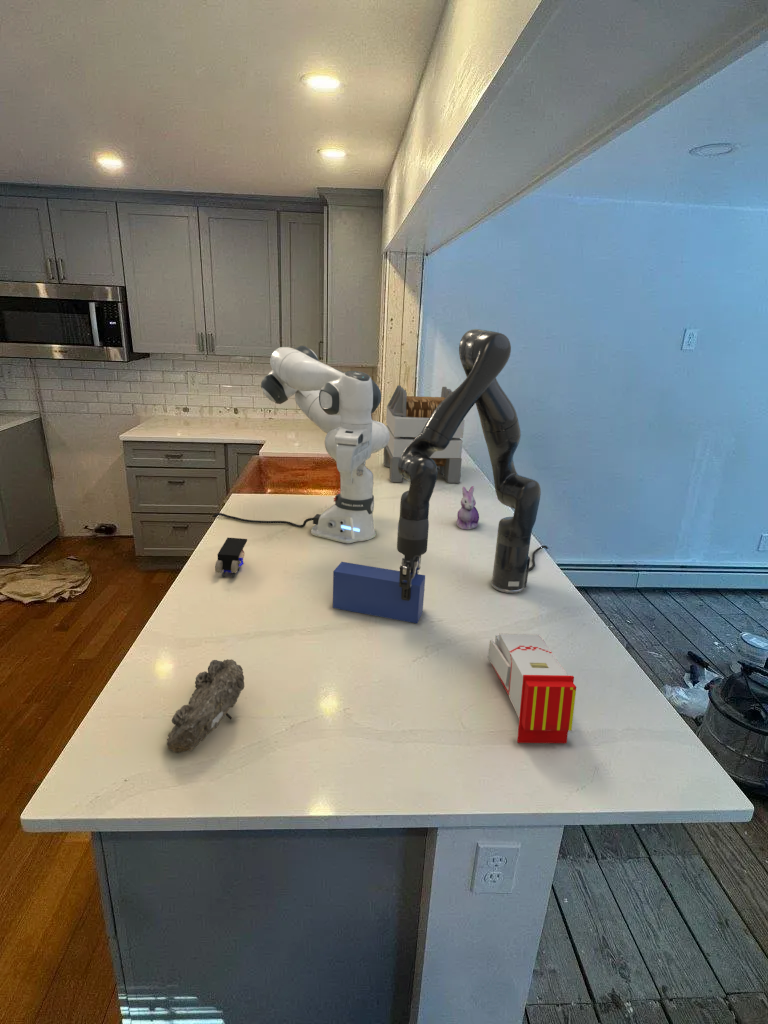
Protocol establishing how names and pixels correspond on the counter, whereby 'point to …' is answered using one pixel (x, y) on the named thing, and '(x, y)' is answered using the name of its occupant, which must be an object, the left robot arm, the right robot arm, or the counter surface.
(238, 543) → the figurine character
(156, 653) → the counter surface
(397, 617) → the box
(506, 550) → the right robot arm
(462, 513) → the figurine
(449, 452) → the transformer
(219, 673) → the fossil
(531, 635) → the toy
